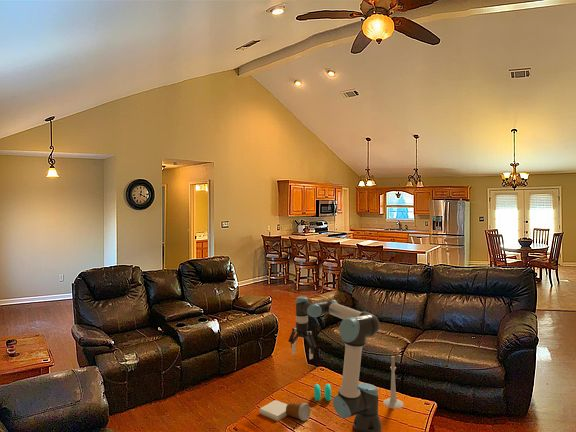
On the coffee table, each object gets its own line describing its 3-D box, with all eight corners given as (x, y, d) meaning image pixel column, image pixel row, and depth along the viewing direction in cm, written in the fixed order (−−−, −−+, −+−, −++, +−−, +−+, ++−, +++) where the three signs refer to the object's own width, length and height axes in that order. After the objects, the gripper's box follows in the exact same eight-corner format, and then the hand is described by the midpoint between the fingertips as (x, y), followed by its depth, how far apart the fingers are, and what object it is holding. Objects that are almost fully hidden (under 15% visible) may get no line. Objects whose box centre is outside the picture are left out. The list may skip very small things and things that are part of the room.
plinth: (293, 411, 242) (293, 406, 242) (277, 421, 231) (277, 416, 231) (275, 404, 251) (275, 399, 251) (259, 413, 240) (259, 408, 240)
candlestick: (387, 398, 258) (386, 350, 258) (407, 403, 251) (406, 354, 250) (379, 406, 248) (378, 356, 247) (400, 411, 240) (399, 361, 240)
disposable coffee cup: (283, 419, 233) (300, 422, 226) (284, 400, 236) (301, 403, 229) (293, 417, 240) (310, 420, 233) (294, 399, 243) (310, 402, 236)
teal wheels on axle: (331, 404, 251) (331, 387, 251) (315, 404, 251) (314, 387, 251) (330, 396, 261) (329, 381, 261) (314, 396, 261) (314, 381, 261)
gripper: (322, 324, 248) (322, 358, 248) (290, 317, 264) (290, 350, 264) (314, 326, 242) (315, 362, 242) (282, 319, 258) (283, 353, 258)
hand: (302, 356), depth 253 cm, fingers open, 13 cm apart
